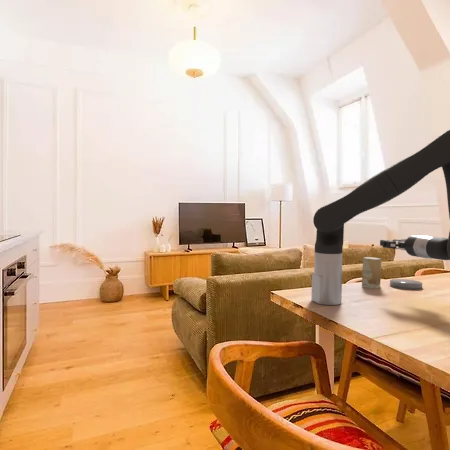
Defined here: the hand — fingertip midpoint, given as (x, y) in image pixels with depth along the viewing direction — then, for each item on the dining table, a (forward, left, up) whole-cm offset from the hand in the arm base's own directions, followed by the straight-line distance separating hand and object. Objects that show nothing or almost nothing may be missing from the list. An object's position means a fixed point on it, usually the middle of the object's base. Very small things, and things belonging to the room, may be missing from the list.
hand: (390, 242), depth 130 cm
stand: (+15, +9, -20) cm, 26 cm away
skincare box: (0, +11, -20) cm, 23 cm away
